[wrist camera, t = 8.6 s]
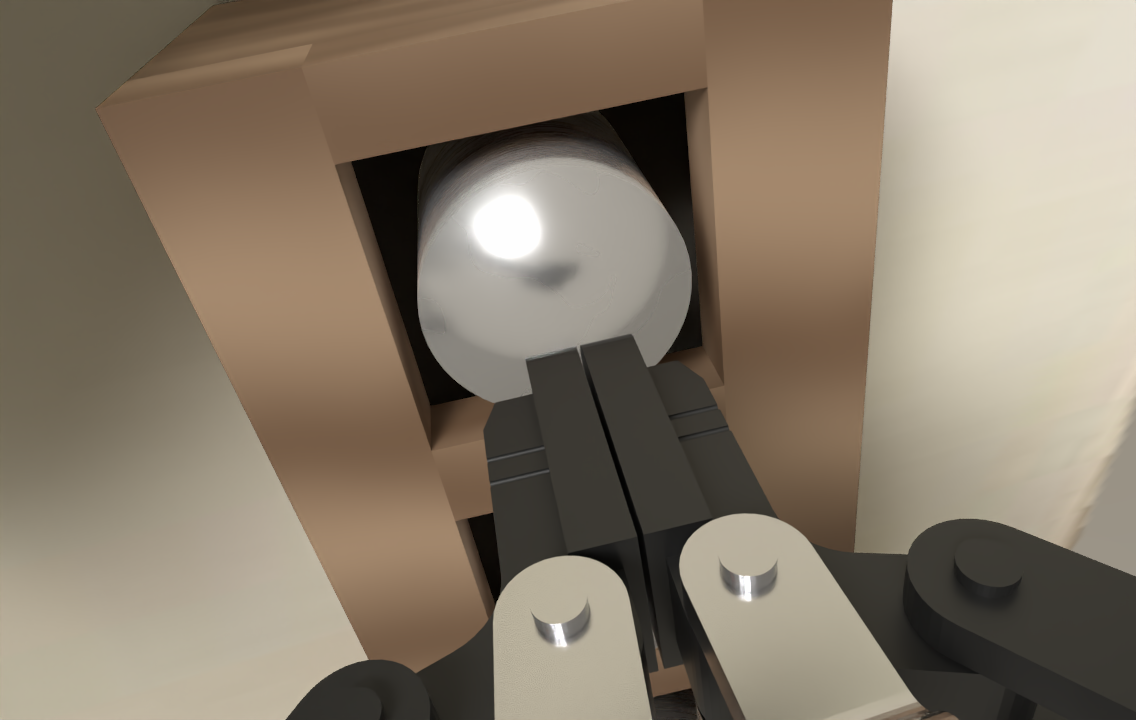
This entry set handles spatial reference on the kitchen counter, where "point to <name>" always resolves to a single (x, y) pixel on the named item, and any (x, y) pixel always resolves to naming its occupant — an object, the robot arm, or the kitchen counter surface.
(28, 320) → the kitchen counter surface
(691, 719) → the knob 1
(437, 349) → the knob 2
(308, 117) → the wooden spice jar rack
